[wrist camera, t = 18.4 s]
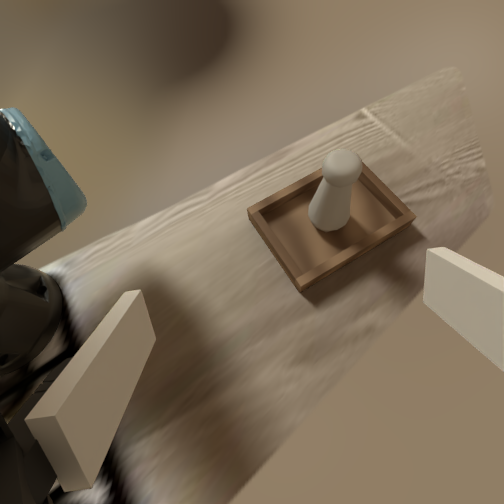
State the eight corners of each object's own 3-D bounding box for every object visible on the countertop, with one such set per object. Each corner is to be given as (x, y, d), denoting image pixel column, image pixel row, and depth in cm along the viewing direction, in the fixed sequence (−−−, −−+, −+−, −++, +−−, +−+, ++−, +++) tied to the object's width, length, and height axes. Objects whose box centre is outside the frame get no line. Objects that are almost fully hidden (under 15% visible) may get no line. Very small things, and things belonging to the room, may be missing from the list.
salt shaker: (350, 209, 44) (377, 145, 32) (341, 242, 42) (366, 187, 30) (312, 199, 45) (324, 134, 33) (301, 231, 43) (310, 174, 31)
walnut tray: (299, 293, 40) (300, 286, 37) (248, 218, 46) (246, 208, 43) (407, 227, 43) (416, 216, 40) (347, 164, 48) (352, 151, 46)
